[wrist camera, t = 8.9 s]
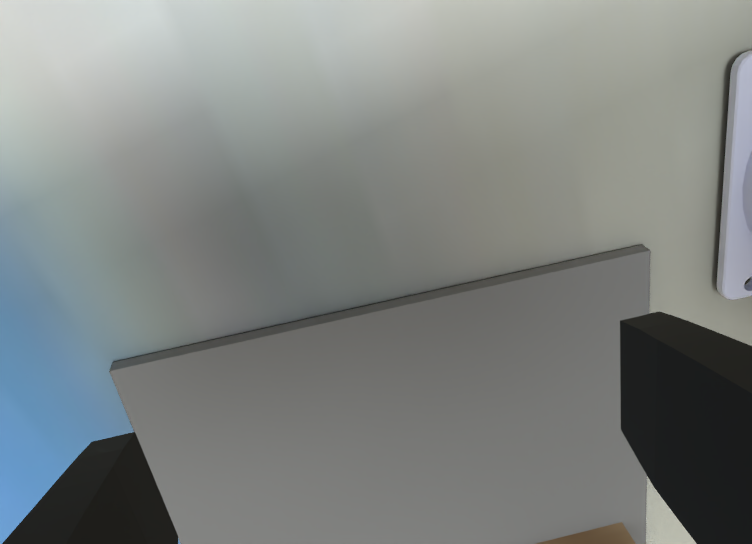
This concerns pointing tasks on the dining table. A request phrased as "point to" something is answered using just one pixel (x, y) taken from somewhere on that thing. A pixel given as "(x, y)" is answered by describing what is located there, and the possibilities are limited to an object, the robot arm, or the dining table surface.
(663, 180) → the dining table surface
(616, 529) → the oak tower base block
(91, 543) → the robot arm
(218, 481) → the slate mat
